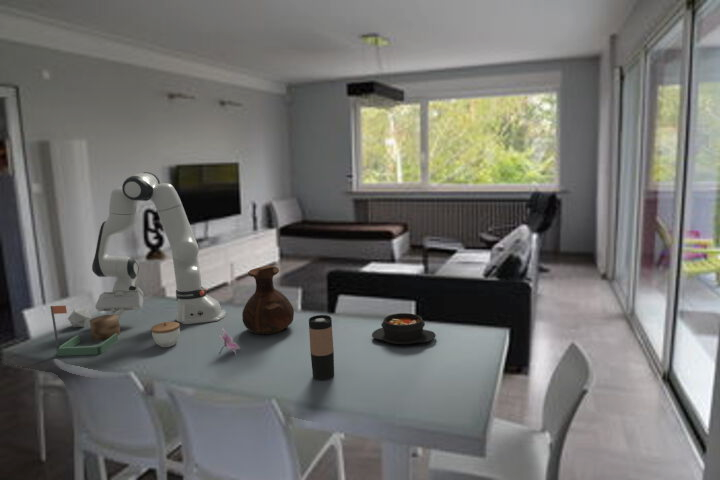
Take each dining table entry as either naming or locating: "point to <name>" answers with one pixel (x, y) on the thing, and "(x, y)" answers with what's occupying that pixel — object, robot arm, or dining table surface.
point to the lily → (228, 342)
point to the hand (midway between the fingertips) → (115, 318)
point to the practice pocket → (78, 340)
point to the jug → (267, 304)
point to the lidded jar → (166, 333)
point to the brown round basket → (104, 327)
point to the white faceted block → (79, 318)
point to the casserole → (403, 329)
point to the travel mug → (321, 347)
